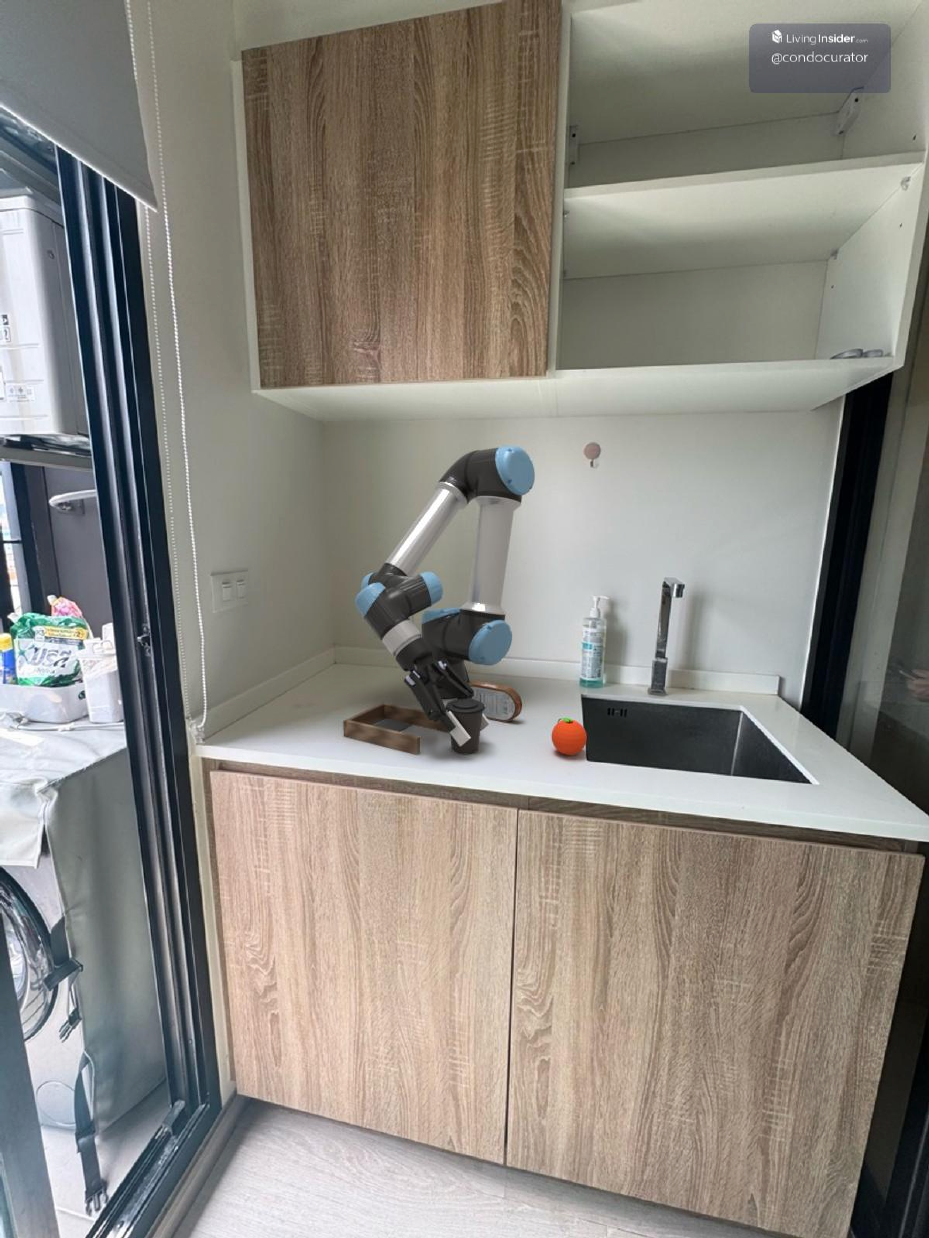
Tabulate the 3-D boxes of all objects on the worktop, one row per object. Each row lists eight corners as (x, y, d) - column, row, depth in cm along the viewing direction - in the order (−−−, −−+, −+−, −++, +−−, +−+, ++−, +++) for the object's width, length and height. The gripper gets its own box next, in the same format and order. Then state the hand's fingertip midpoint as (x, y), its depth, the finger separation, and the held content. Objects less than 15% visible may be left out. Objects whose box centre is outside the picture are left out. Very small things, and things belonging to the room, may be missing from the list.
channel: (343, 736, 113) (343, 720, 112) (383, 716, 125) (383, 702, 124) (417, 754, 104) (417, 738, 103) (452, 731, 116) (452, 716, 115)
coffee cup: (483, 740, 111) (484, 695, 109) (486, 757, 103) (486, 708, 101) (445, 740, 111) (445, 695, 109) (444, 757, 103) (444, 708, 101)
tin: (522, 722, 122) (523, 687, 121) (516, 726, 120) (517, 690, 118) (466, 710, 130) (466, 677, 128) (460, 714, 127) (460, 680, 126)
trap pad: (355, 735, 113) (355, 734, 113) (386, 719, 123) (386, 718, 123) (381, 742, 110) (381, 740, 110) (411, 725, 119) (411, 724, 119)
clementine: (541, 747, 108) (542, 714, 107) (570, 742, 111) (571, 710, 110) (562, 763, 101) (564, 728, 100) (593, 757, 103) (594, 723, 102)
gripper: (425, 648, 121) (486, 727, 116) (367, 669, 103) (437, 764, 98) (444, 627, 117) (509, 708, 112) (388, 645, 99) (462, 743, 94)
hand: (475, 734), depth 105 cm, fingers closed on coffee cup, 8 cm apart
